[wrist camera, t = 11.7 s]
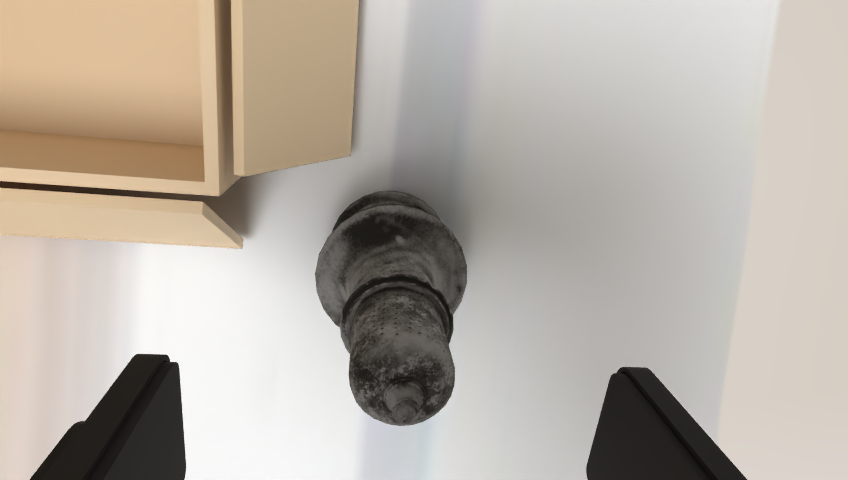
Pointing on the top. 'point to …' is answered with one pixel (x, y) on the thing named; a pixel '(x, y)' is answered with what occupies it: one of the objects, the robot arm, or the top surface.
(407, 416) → the weathered iron finial
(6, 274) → the top surface
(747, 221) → the top surface
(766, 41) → the top surface
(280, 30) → the carton
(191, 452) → the top surface
